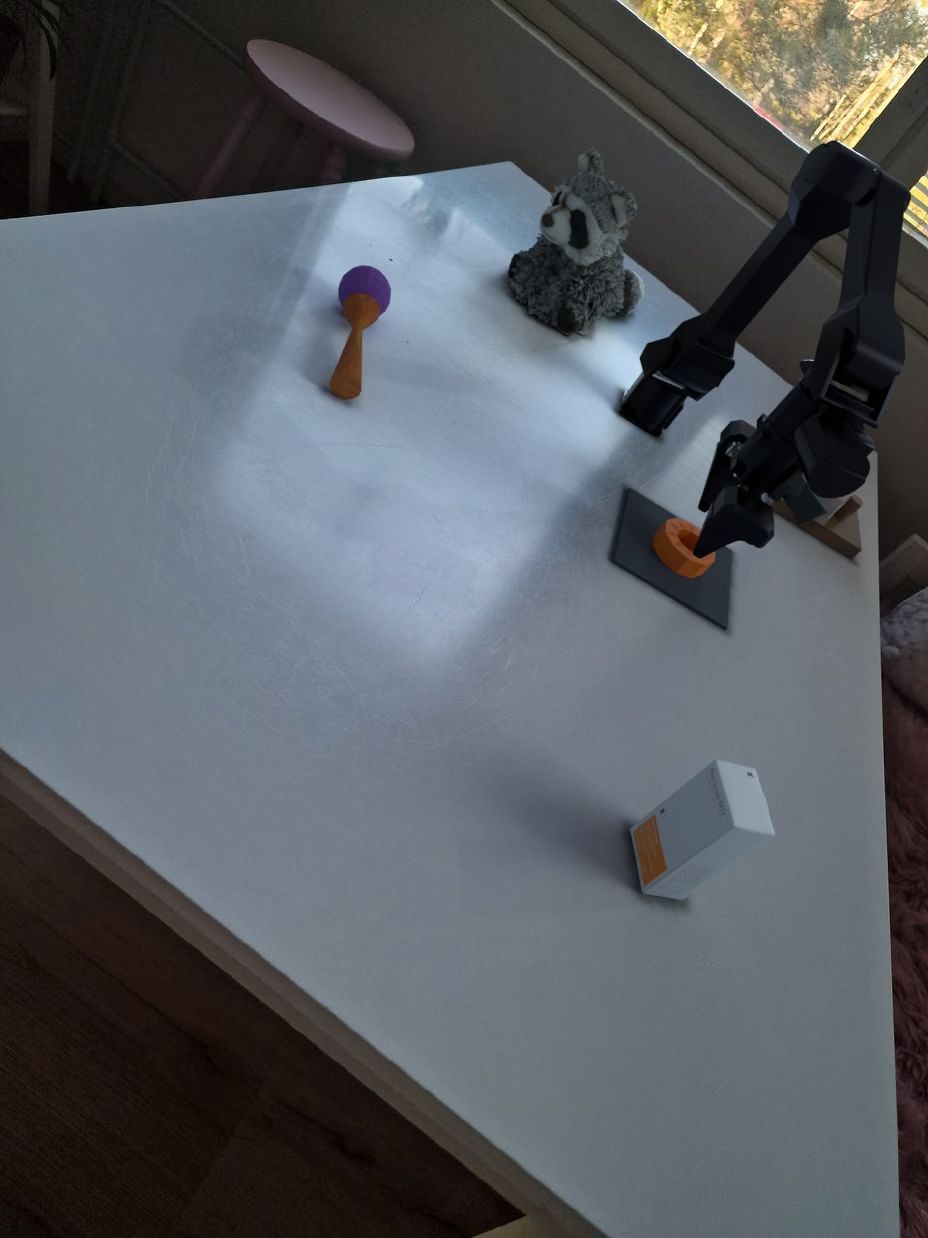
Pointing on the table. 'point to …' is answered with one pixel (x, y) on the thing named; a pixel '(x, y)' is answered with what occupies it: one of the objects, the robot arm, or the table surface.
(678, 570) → the disc
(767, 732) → the table surface
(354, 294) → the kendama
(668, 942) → the table surface
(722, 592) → the mat
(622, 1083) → the table surface
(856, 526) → the rack
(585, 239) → the raccoon plush
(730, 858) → the cosmetic box
